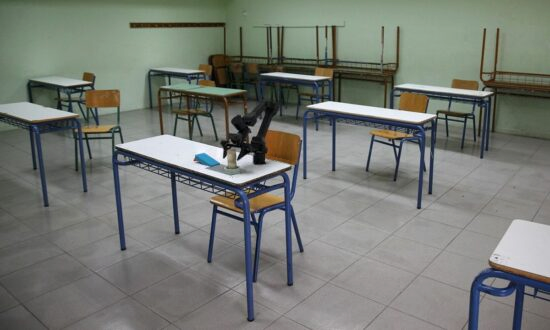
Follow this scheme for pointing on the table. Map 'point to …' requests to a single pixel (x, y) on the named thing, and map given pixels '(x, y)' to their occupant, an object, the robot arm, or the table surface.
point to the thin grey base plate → (226, 169)
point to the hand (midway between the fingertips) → (230, 159)
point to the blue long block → (206, 159)
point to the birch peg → (231, 159)
